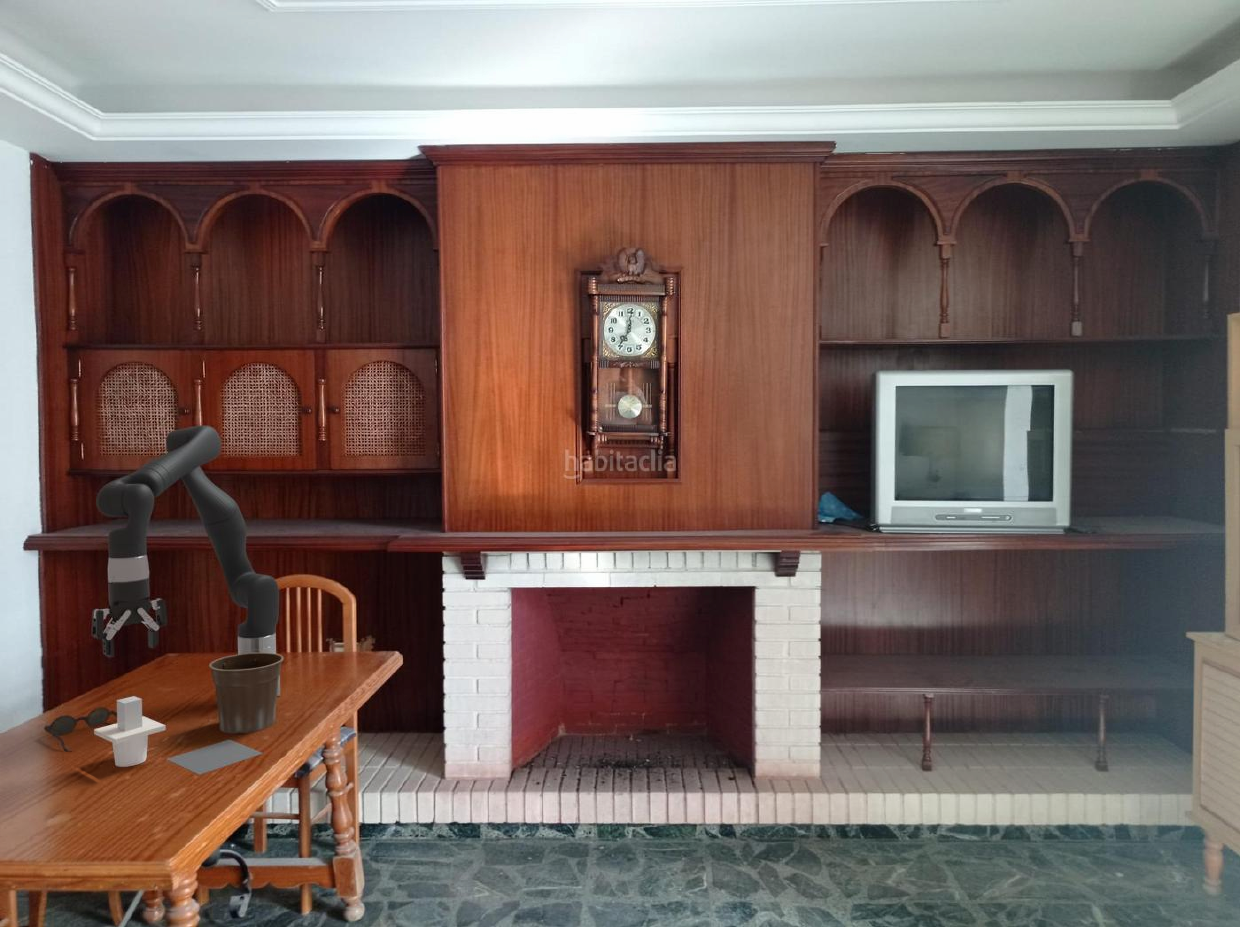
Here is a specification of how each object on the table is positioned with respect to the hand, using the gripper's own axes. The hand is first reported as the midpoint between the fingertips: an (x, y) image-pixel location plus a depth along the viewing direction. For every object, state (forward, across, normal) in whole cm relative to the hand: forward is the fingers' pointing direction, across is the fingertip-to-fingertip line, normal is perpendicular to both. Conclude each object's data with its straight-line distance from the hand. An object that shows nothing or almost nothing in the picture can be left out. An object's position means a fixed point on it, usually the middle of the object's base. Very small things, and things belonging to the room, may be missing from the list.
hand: (131, 652), depth 179 cm
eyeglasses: (+25, -1, -24) cm, 35 cm away
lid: (+17, +1, 0) cm, 17 cm away
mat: (+24, -11, +12) cm, 29 cm away
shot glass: (+24, +1, 0) cm, 24 cm away
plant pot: (+24, -26, 0) cm, 36 cm away
